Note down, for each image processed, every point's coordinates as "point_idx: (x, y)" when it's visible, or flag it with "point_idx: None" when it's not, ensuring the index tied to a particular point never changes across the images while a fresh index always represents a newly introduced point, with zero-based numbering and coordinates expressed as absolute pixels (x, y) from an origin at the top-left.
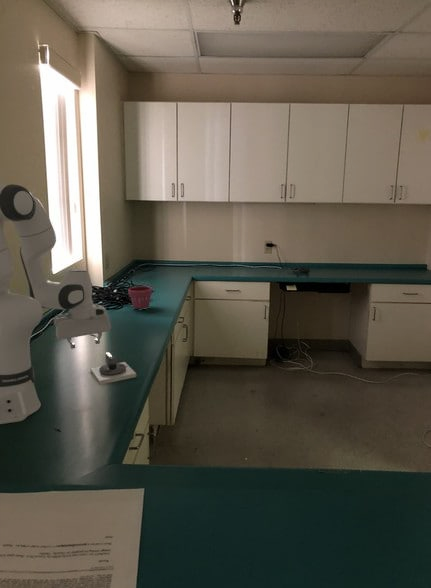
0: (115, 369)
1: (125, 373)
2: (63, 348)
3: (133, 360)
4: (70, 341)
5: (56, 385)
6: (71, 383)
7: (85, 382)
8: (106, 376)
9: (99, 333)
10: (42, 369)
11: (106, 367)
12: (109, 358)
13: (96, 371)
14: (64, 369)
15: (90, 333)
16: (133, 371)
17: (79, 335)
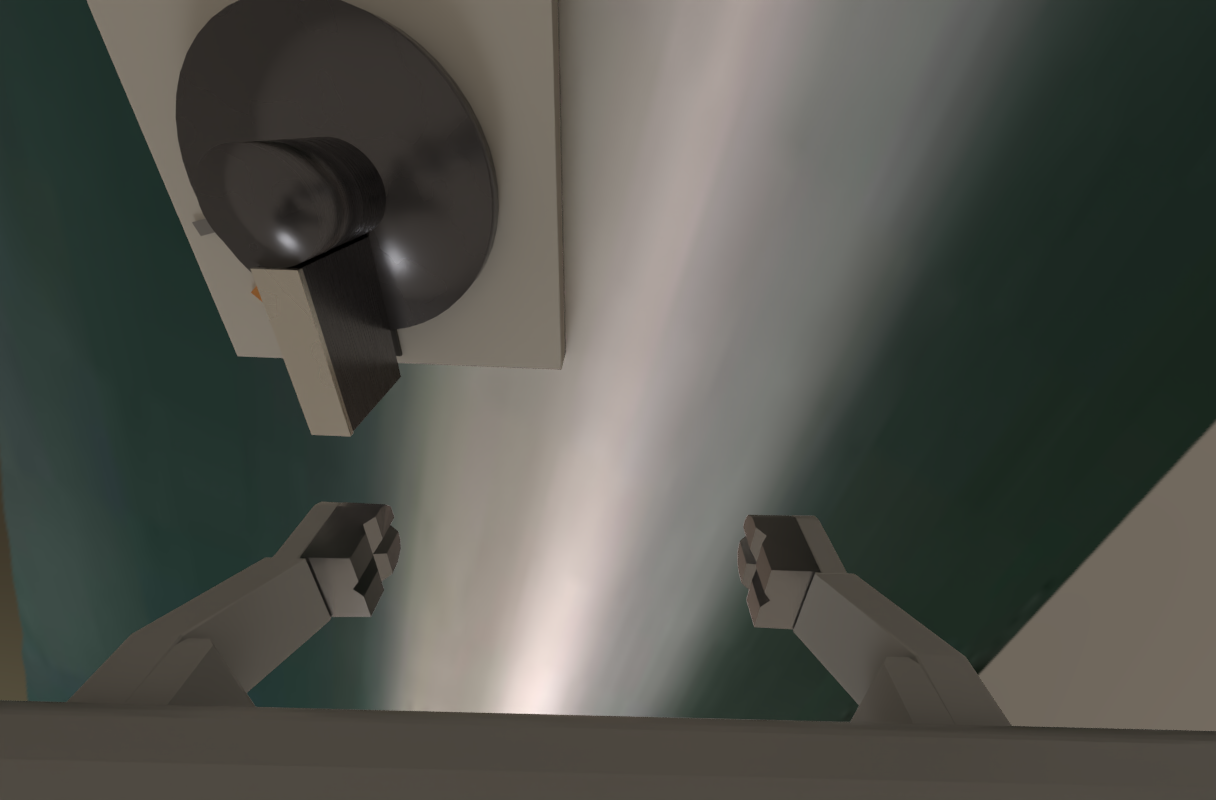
0: (304, 110)
1: None
2: None
3: (192, 404)
4: (842, 657)
5: (933, 210)
6: (801, 178)
7: (677, 119)
8: (442, 32)
9: (149, 687)
10: (843, 558)
11: (408, 241)
12: (296, 217)
13: (524, 262)
14: (724, 495)
15: (364, 740)
16: (96, 4)
17: (713, 747)
